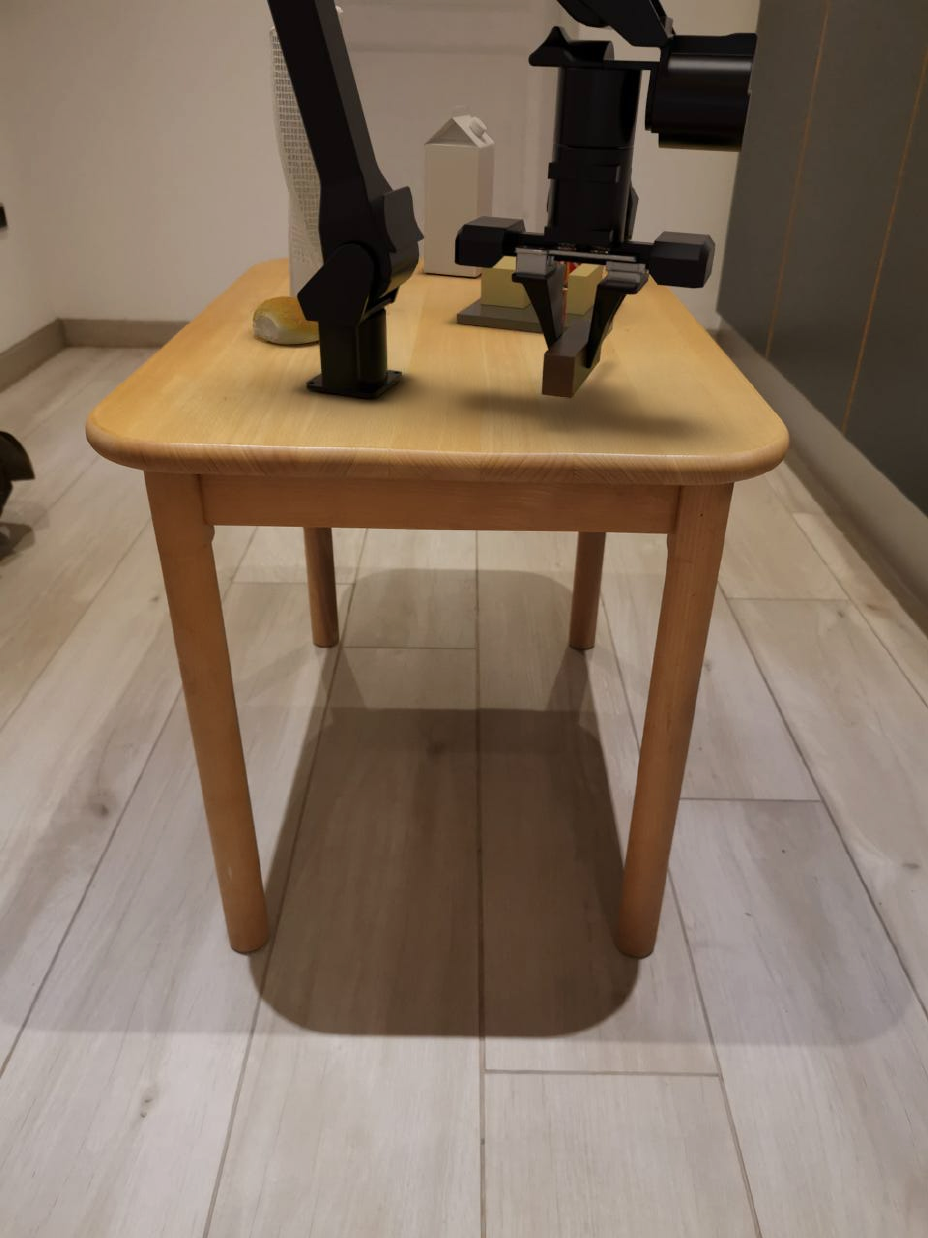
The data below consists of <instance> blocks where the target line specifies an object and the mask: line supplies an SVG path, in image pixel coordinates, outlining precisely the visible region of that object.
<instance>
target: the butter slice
mask: <svg viewBox="0 0 928 1238" xmlns="http://www.w3.org/2000/svg"><path fill="white" fill-rule="evenodd" d="M602 266H603V265H594V264H581V265H580V266H579V267H578V268H576V269H575V270H574V271H573V272H571V273H570V274H569V276H568V286H567V289H566V290H567V300H566V312H565V313H567V314H576V315H584V314H585V313H586V312H587V311H588V310H589V309H590V308H591V307H592V306H593V305H594V301H595V295H596V289H597V284H598V283H599V282H601V281H602V278H601V276H602V277H603V274H602Z"/></svg>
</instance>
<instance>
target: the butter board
mask: <svg viewBox="0 0 928 1238" xmlns="http://www.w3.org/2000/svg"><path fill="white" fill-rule="evenodd" d="M566 300H567V289H563V333H564V332H565V331H566V330H567V329H568V328H569V327H570V326H571V325H572V324H573V323H574V322H575V321H576V320H579V321H588V322H589V321H590V320H591V319H592V313H593V307H594V305H593V306H592V307H591V308H590V309H589V310H588V311H587V312H586V313H585V314H584V315H576V314H567V313H565V312H566ZM456 324H462V325H471V326H477V327H479V326H480V327H486V328H487V327H488V328H496V329H505V330H513V331H521V332H531V333H538V334H543V332H542V329H541V325H540V323H539V320H538V317H537V315H536V313H535V310H534V308H533V306H532V304H531V303H530V304H529V305H528V306H526V307H525V308H524V309H520V308H511V307H502V306H493V305H484V304H481V297H480V298H478V299H477V300H475V301H473V303H471V304H469V305H468V306H466V307H464V308H463V309H462V310H461V311H459V312H457V314H456Z"/></svg>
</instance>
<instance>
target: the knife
mask: <svg viewBox="0 0 928 1238" xmlns="http://www.w3.org/2000/svg"><path fill="white" fill-rule="evenodd" d="M614 319H615V317H614V318H613V321H612V323H611V325H610V327H609V330H608V332H607V334H606V337H605V339H606V338H607V337H608V336H609V335H610V333H611V332H612V331H613V328H614ZM590 325H591V320H590V321H589V322H588V321H579V320H576V321H575V322H574V323H573V324H572V325H571V326H570V327H569V328H568V329H567V330H566V331H565V332H564V333H563V334H562V335H561V336H560V337H559V339H558V340H557V341H556V342H555V343H554V344H553V345H552V346H551V347H550V348H549V349H548V348H547V350H546V351H545V352H544V353H543V362H542V363H543V364H542V379H541V395H542V396H549V397H557V398H563V399H572V398H573V397H574V396H575V395H576V393H577V392H578V391H579V389H580V388H581V386H582V385H584V383H585V381H586V380H587V379H588V377H589V376H590V375H591V373H592V372H593V371H594V370H595V368H596V367H597V365H598V364H599V363H600V362H601V356H602V355H601V353H602V347H601V348H600V351H599V353H598V355H597V358H596V360H595V362H594V364H593V366H592V367H591V369H587V368H586V350H587V343H588V337H589V331H590Z"/></svg>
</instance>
